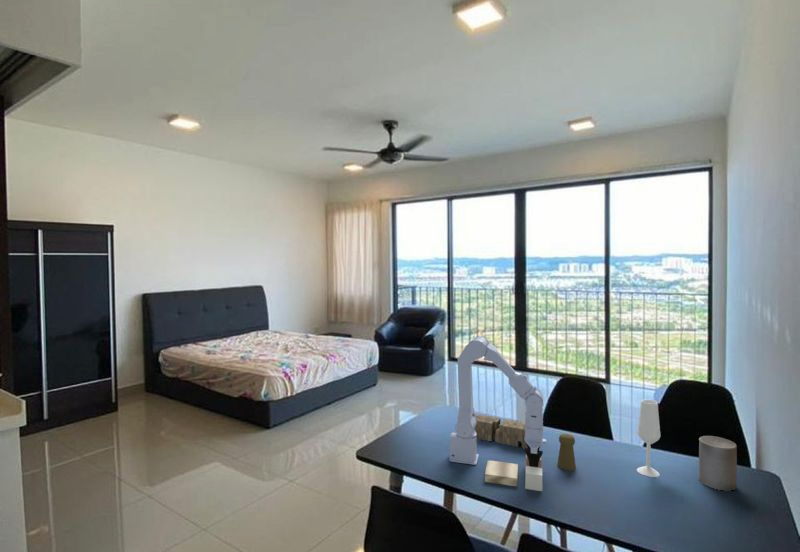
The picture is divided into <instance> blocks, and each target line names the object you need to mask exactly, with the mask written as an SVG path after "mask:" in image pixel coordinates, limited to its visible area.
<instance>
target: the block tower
mask: <svg viewBox="0 0 800 552" xmlns="http://www.w3.org/2000/svg"><path fill="white" fill-rule="evenodd" d="M475 416H476V418H477V425H476V427H475V428H474V429H475V431H476V433H477V440H480V439H482V440H481V441H485V440H487V441H486V442H489V441H492V442H493V440H494V439H495V440H494V442H498V443H497V444H500V443H503V444H502V445H505V444H508V445H507V446H510V445H512V446H511V447H515V446H516V448H518V447H519V446H520V444H521V448H522V449H524V448H528V447H527V444H526V442H525V440H524V438H525V421H518V420H514V419H508V418H507V419H506V418H504V419H503V420H502V421H501V417H497V416H490V415H487V414H486V415H485V414H478V413H475Z"/></svg>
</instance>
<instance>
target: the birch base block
mask: <svg viewBox="0 0 800 552" xmlns="http://www.w3.org/2000/svg"><path fill="white" fill-rule="evenodd" d="M486 463H487V464H486V467H485V472H484V482H485V483H490V484H496V485H497V484H498V485H502V486H503V485H504V486H510V487H518V478H519V477H518V476H519V475H518V474H519V464H518V463H512V462H503V461H496V460H489V459H488V460H487V462H486Z"/></svg>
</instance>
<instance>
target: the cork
mask: <svg viewBox="0 0 800 552" xmlns="http://www.w3.org/2000/svg"><path fill="white" fill-rule="evenodd" d="M558 442H559V443H560V445H559V450H558V451H559V452H558V458H557V467H558V468H559V469H561V470H564V471H568V472H569V471H572V472H573V471H575V470H576V469H577V467H576V465H577V464H576V457H575V450H574V446H575V444H576V439H575V436H573V435H572V434H569V433H561V434H560V435H559V436H558Z"/></svg>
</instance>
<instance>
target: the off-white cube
mask: <svg viewBox="0 0 800 552" xmlns="http://www.w3.org/2000/svg"><path fill="white" fill-rule="evenodd" d="M524 476H525V482H524V483H525V486H524V487H525V488H524V489H525V490H531V491H537V492H538V491H539V492H543V468H542V467H541V468H537V467H530V466H526V465H525V475H524Z"/></svg>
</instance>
